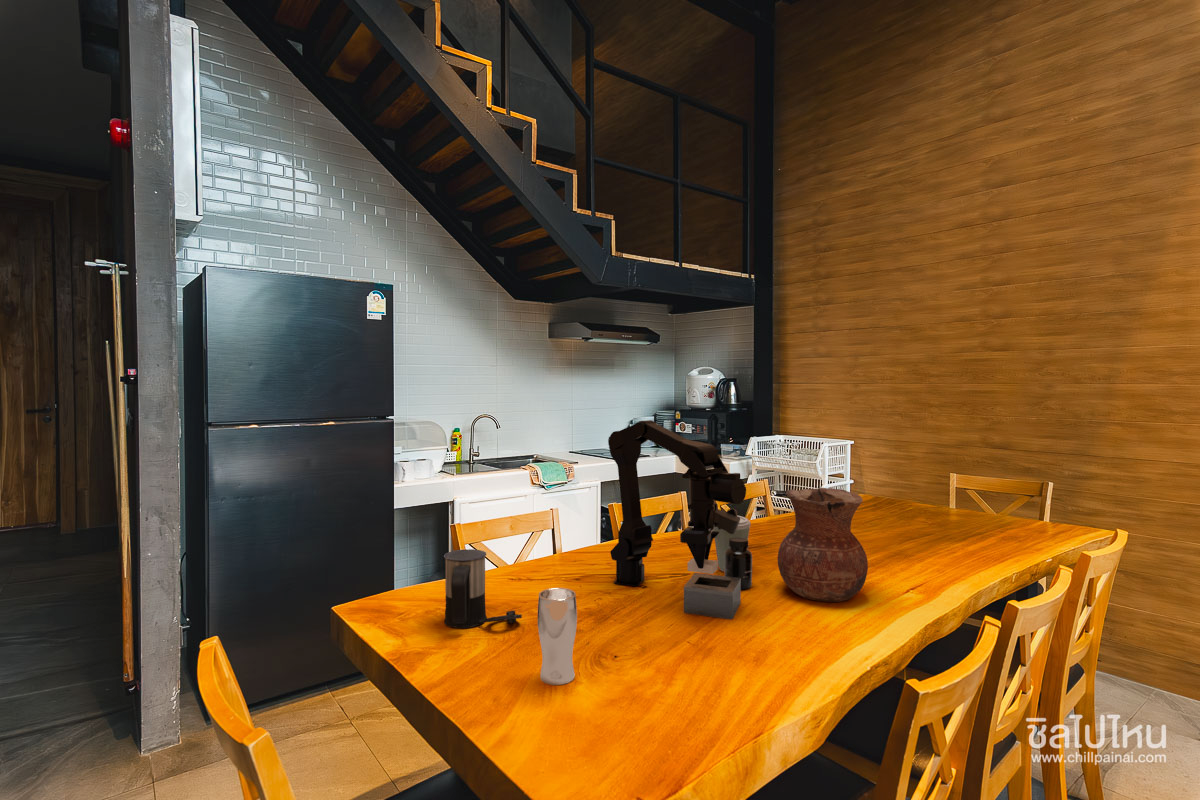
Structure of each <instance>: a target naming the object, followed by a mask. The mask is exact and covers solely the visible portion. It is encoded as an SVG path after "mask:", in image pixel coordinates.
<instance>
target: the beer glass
mask: <svg viewBox="0 0 1200 800" xmlns="http://www.w3.org/2000/svg"><path fill="white" fill-rule="evenodd" d="M576 596H577V594H576V591H574V590H573V589H570V588H565V587H551V588H546V589H543V590H541V591H540V592H539V593H538V602H537V629H538V635H539V636H538V637H539V642H540V647H541V653H542V654H541V656H542V659H541V660H542V663H541V669H540V677H539V678H540V680H541V681H542V682H543V683H544V684H547V685H551V686H561V685H566V684H569V683H571V682H572V681H573V680H574V679H575V669H574V663H573V651H574V645H575V639H576V632H577V625H578V624H577V623H578V609H577V597H576Z"/></svg>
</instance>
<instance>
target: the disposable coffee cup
mask: <svg viewBox="0 0 1200 800" xmlns="http://www.w3.org/2000/svg"><path fill="white" fill-rule="evenodd" d="M737 516H739V517H740V522H739V524H738V527H737V530H736V532H735V533H734V534H730V533H728V532H727V531H725V530H723V529H721V530H720V529H718V527H714V531H717V532H719V534H718V535H717V536H716V537H715V538H714V545H715V552H716V557H717V558H716V559H717V560H716V561H718V570H720V571H721V572H724V573H725V552H726V550H727V549H729V548H730V547H729V539H730V538H745V539H747V540H748V541H749V534H750V528H751V520H749V518H747V517H744V516H741V515H738V514H737Z"/></svg>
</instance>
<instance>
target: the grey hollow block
mask: <svg viewBox="0 0 1200 800" xmlns="http://www.w3.org/2000/svg"><path fill="white" fill-rule="evenodd" d="M741 591H742V590H741V578H736V577H727V576H725V575H716V574H710V573H701V572H694V573H693V575H691V577H690V579H688V580H687V582H686V583H685V585H684V586H683V614H688V615H696V616H704V617H711V618H719V619H726V620H733V619H734V618H735V615H736V613H737V611H738V610H739V607H740V605H741Z"/></svg>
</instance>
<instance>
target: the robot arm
mask: <svg viewBox="0 0 1200 800" xmlns="http://www.w3.org/2000/svg"><path fill="white" fill-rule="evenodd" d="M607 441H608V442H607V443H608V448H609V452H610V456H611V458H612V460H613V461H614V462H615V464H616V466H617V471H618V473H617V474H618V482H619V494H620V502H621V503H620V504H621V513H622V522H621V525H620V528H619V529H618V530H619V531H618V534H617V535H618V537H617V538H618V540H617V543H616V545H614V547H613V548H612V549H611V550H610V551H609V553H610V557H611V560H612V561H615V565H616V567H615V571H616V572H615V574H616V575H615V576H616V577H615V580H614V581H613V584H615V585H622V586H630V587H631V586H632V587H638V586H639V585H640V584H641V583H642V582H644V581H645V564H644V563H643V558H647V556H648V555H649V550H650V549H651V548H652V542H653V541H654V538H653V535H652V526H651V525H650V524H648V525H647V524H646V522H645V521H644V520H643V515H642V514H643V513H642V504H641V495H640V484H639V475H638V466H637V464H638V461H639V458H640V456H641V453H642V444H643V445H644V443H646V442H648V441H650V442H651V443H653V444H655V445H658V446H659V447H661V448H663V449H664V450H666V451H668V452H670V453H671V454H674V455H675V456H677V458H678V459H679V461H680V463H681V464H683V466H685V467H686V468H688V469H687V470H686V472H684V473H683V474H682V476H681V478H682V479H685V480H689V503H688V504H687V510H689V521H687V527H686V528H685V529H684V530H683V531H681V532H680V534H679V535H680V536H679V537H680V540H679V542H680V543H682V544H687V547H688V549H689V551H690V553H691V555H692V557H693V558H694V560H695V562H696V564H697V566H698V568H701V569H702V568H703V567H704V561H705V559H706V560H709V557H710V552H711V547H712V544H713V541H714V540H715V537H716V536H717V535H718V534H719V532H717V531H714V527H718V529H720V530H721V529H723V530H725V531H727V532H728V533H730V534H734V533H735V532H736V530H737V527H738V524H739V522H740V517H739V516H740V515H738V510H737V509H735V508H732V507H730V508H729V509H728V510H727V511H726V510H722V509H719V507H718V503H717V502H721V503H726V504H727V503H728V504H733V505H741V504H742V503H743V501H744V500H745V498H746V497H747V496H746V495H747V487H746V484H745V482H744V481H743V479H742V478H741V473H739V472H729V471H728V469H727V467H726V466H725V464H724V462H723V461H722V459H721V458H720V455H719V453H718V449H717V447H716V446H714V445H713V444H710V443H705V442H703V441H697V440H691V439H688V438H685V437H683V436H682V435H680V434H678V433H676V432H673V431H671V430H670V429H668V428H667V427H666V428H665V427H664V426H662V425H660V424H658V423H657V422H656V421H654V420H652V419H650V420H648V419H647V420H639V421H638V422H636V423H634V424H632V425H630V426H627V427H625V428H622V429H620V430H616V431H615V430H614V431H612V432H611V434H610V436H608V439H607ZM737 515H738V516H737Z"/></svg>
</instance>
